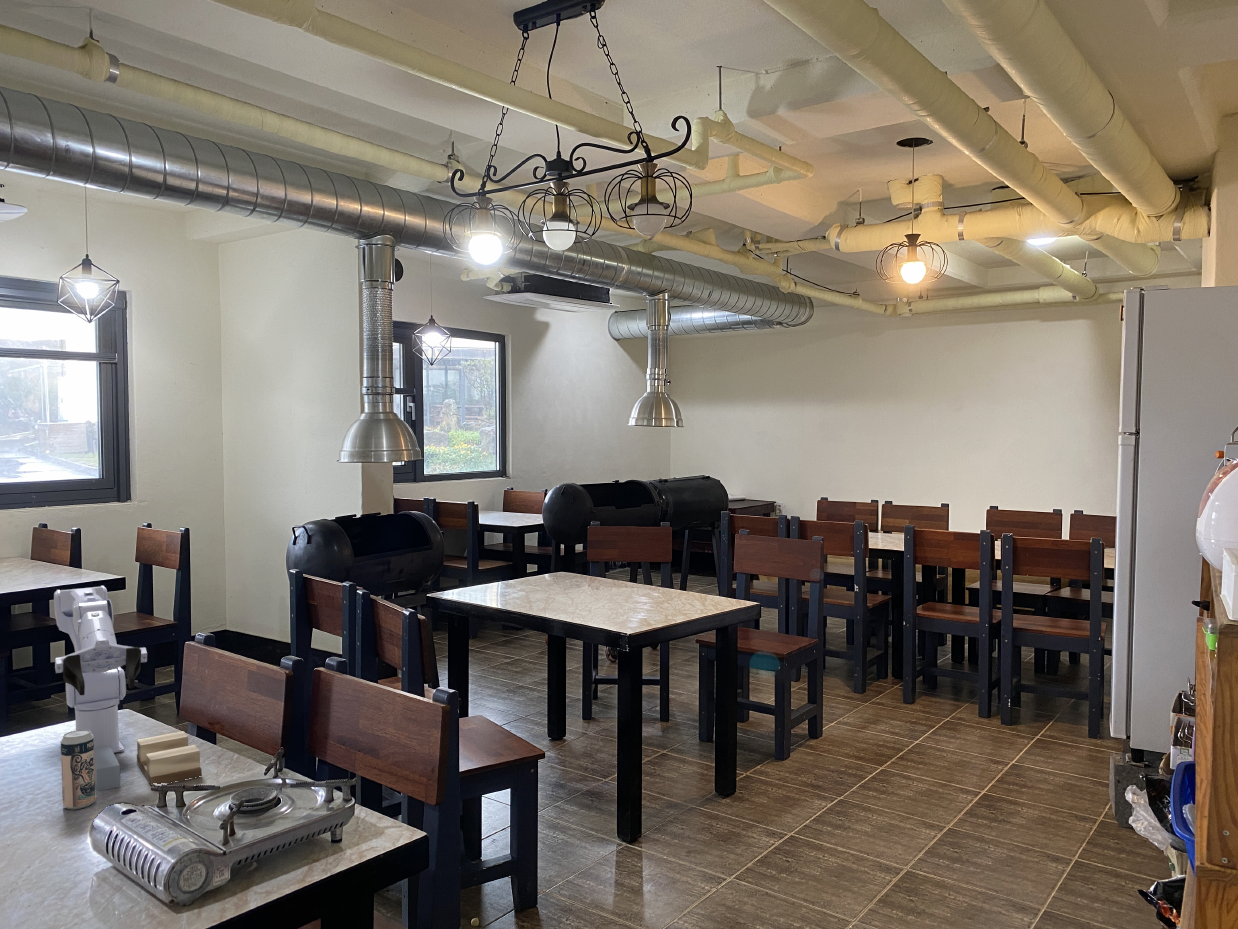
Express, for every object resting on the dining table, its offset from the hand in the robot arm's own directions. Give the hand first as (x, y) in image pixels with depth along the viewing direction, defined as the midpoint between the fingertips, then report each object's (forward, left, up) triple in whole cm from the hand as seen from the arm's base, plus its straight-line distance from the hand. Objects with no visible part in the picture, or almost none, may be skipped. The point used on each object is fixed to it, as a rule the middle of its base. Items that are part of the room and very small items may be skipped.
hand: (107, 687), depth 163 cm
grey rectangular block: (-3, -1, -17) cm, 18 cm away
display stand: (0, +9, -17) cm, 19 cm away
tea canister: (+9, -6, -17) cm, 20 cm away
